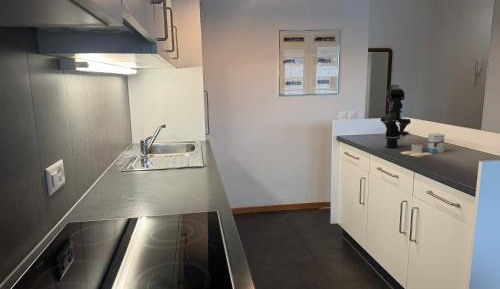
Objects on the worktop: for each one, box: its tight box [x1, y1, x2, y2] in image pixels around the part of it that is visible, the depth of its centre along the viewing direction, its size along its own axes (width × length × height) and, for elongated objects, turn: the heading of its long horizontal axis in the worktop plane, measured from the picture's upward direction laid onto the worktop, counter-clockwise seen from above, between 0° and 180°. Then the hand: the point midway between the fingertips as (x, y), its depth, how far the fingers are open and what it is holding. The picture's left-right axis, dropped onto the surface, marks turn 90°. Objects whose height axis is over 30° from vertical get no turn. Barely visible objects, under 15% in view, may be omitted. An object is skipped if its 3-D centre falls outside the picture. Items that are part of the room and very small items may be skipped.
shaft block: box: [400, 143, 434, 158], centre depth 224 cm, size 14×12×6 cm
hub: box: [411, 143, 423, 154], centre depth 224 cm, size 6×6×5 cm
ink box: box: [426, 132, 445, 154], centre depth 228 cm, size 8×5×12 cm, turn 105°
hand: (394, 133), depth 227 cm, fingers open, 9 cm apart
